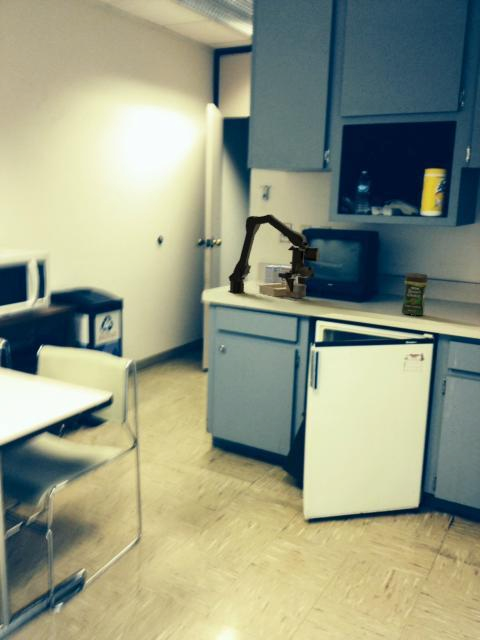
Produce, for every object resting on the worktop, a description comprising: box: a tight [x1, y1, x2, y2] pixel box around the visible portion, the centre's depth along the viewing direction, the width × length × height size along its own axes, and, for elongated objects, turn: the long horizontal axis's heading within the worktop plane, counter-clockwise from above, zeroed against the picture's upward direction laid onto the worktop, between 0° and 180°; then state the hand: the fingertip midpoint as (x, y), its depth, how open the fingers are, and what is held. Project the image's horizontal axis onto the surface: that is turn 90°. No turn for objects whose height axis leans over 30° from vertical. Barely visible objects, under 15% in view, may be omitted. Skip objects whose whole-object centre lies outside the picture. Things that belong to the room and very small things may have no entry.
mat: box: [281, 295, 310, 302], centre depth 307 cm, size 10×9×1 cm
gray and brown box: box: [285, 282, 307, 298], centre depth 307 cm, size 5×9×6 cm, turn 34°
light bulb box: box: [264, 264, 283, 284], centre depth 352 cm, size 11×7×11 cm, turn 136°
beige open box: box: [256, 283, 287, 297], centre depth 320 cm, size 15×18×4 cm
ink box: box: [280, 265, 298, 285], centre depth 341 cm, size 9×5×12 cm, turn 73°
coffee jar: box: [401, 272, 428, 316], centre depth 275 cm, size 10×8×19 cm
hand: (295, 291), depth 307 cm, fingers closed on gray and brown box, 5 cm apart
